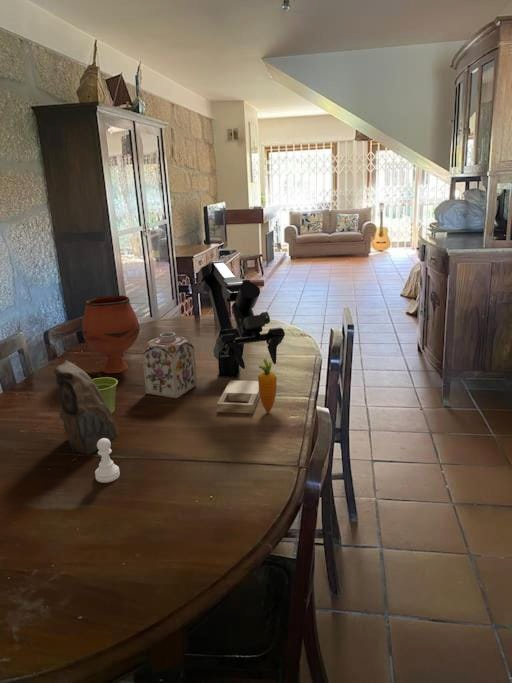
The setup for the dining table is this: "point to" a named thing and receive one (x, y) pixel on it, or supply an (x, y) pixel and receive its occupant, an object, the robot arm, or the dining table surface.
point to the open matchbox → (239, 397)
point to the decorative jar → (169, 366)
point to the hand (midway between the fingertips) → (259, 365)
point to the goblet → (110, 329)
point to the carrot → (267, 386)
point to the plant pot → (107, 390)
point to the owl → (83, 409)
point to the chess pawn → (106, 463)
